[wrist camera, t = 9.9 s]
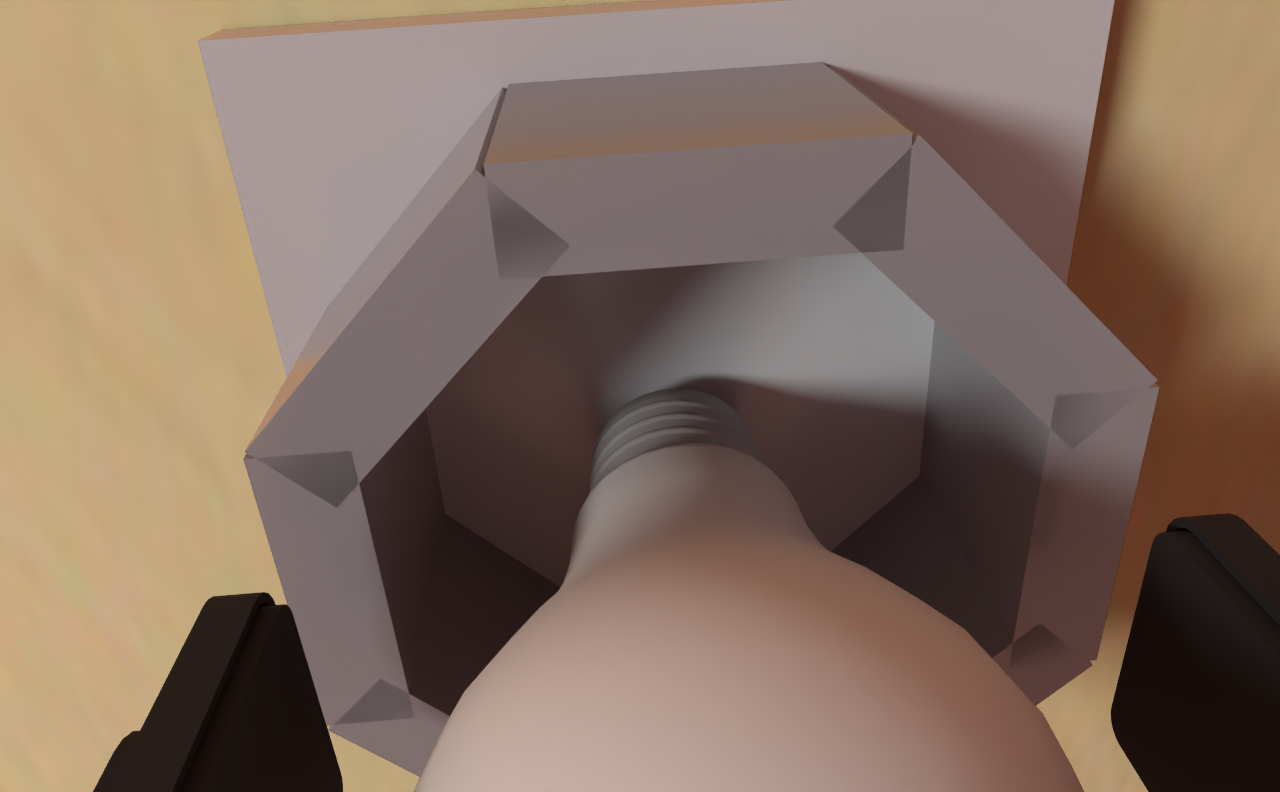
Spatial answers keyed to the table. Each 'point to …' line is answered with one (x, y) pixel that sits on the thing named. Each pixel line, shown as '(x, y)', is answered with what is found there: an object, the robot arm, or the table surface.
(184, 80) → the table surface
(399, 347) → the socket
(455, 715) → the lightbulb
